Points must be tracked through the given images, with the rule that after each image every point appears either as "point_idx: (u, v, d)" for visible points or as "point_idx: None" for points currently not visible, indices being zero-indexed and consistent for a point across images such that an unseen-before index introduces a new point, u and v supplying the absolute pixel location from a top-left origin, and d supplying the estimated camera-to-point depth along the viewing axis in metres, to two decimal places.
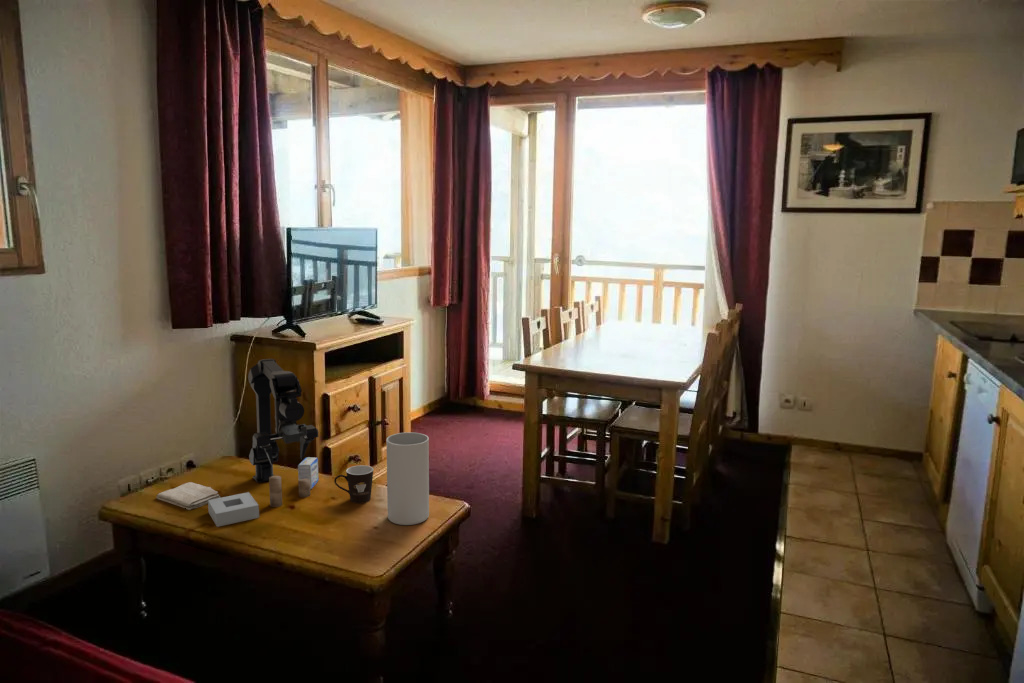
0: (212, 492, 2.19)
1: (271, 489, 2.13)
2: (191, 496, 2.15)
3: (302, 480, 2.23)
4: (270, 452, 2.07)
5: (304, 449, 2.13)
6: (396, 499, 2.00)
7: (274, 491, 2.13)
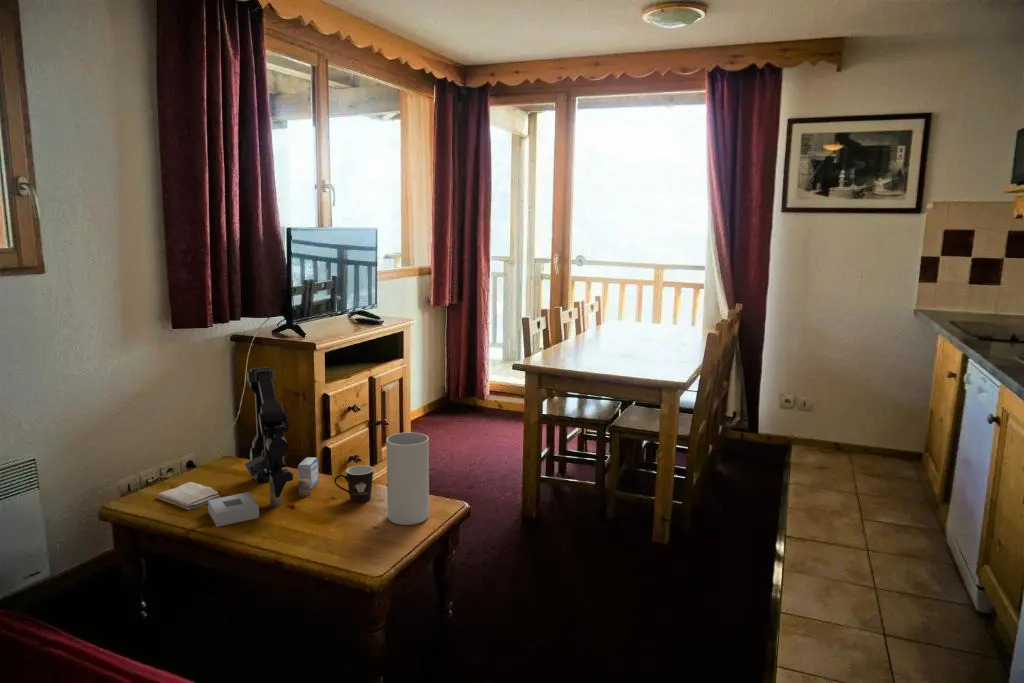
0: (212, 492, 2.19)
1: (271, 489, 2.13)
2: (191, 496, 2.15)
3: (302, 480, 2.23)
4: (268, 480, 2.15)
5: None
6: (396, 499, 2.00)
7: None
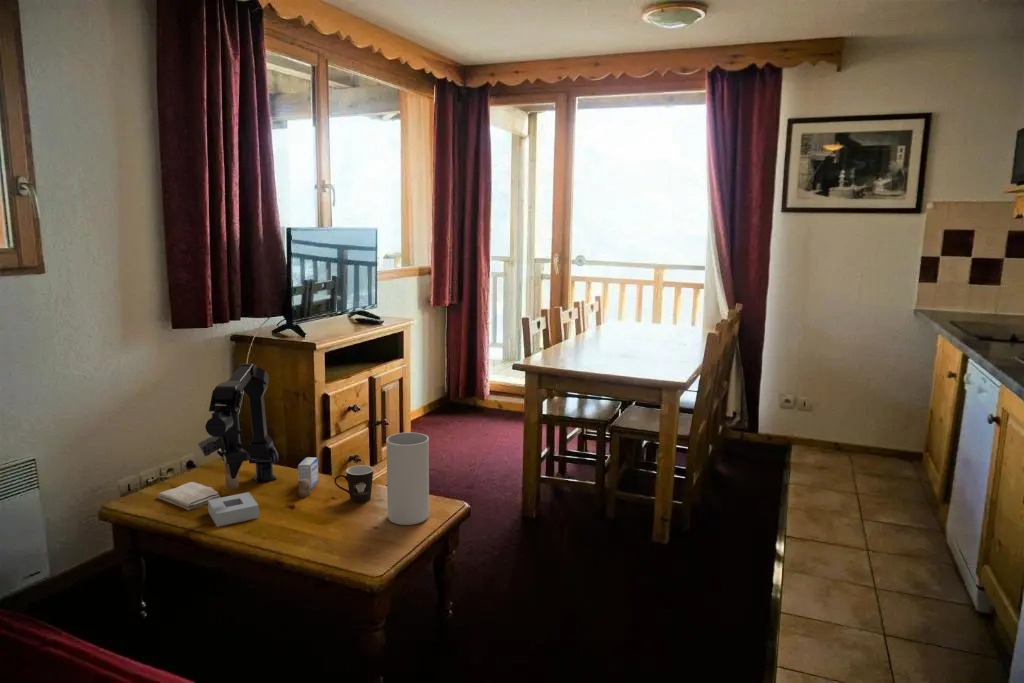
0: (212, 492, 2.19)
1: (226, 470, 2.03)
2: (191, 496, 2.15)
3: (302, 480, 2.23)
4: None
5: (229, 468, 2.02)
6: (396, 499, 2.00)
7: None
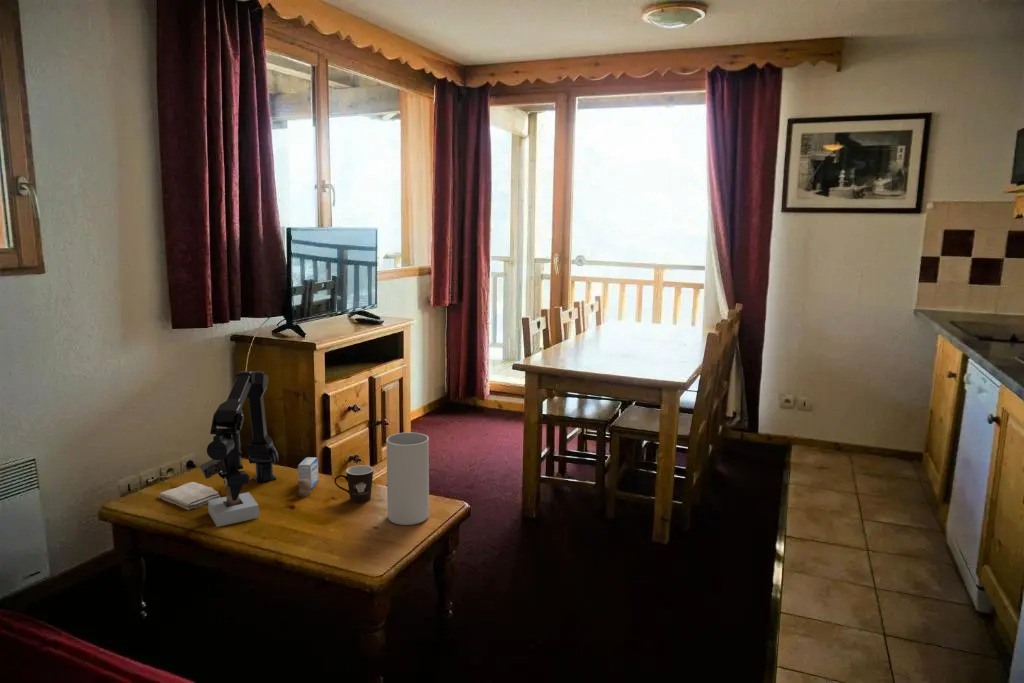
0: (212, 492, 2.19)
1: (227, 492, 2.04)
2: (191, 496, 2.15)
3: (302, 480, 2.23)
4: None
5: (230, 490, 2.03)
6: (396, 499, 2.00)
7: None
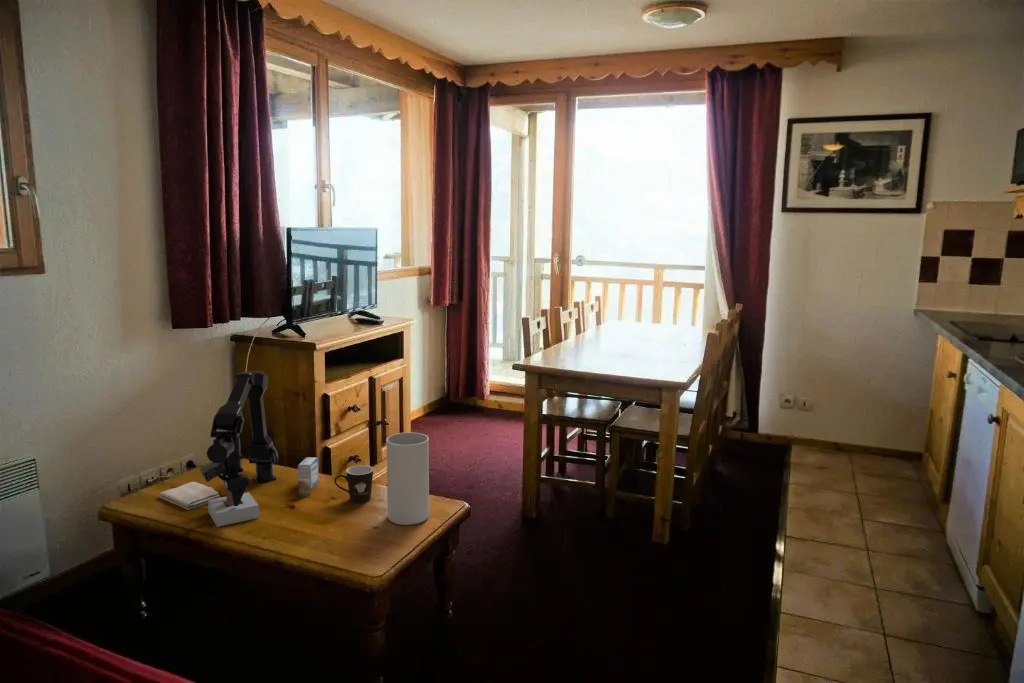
0: (213, 492, 2.19)
1: (228, 499, 2.04)
2: (191, 496, 2.15)
3: (302, 480, 2.23)
4: (224, 483, 2.09)
5: (232, 496, 2.01)
6: (396, 499, 2.00)
7: (231, 501, 2.04)
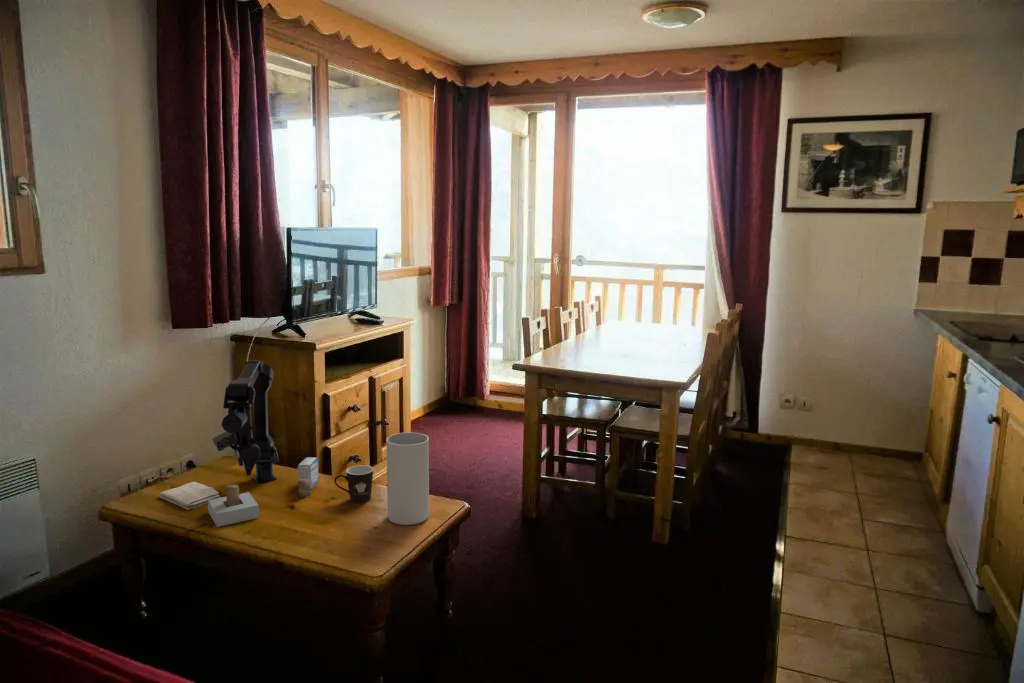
0: (213, 492, 2.19)
1: (228, 499, 2.04)
2: (191, 496, 2.15)
3: (302, 480, 2.23)
4: (235, 452, 2.14)
5: (244, 466, 2.06)
6: (396, 499, 2.00)
7: (231, 501, 2.04)
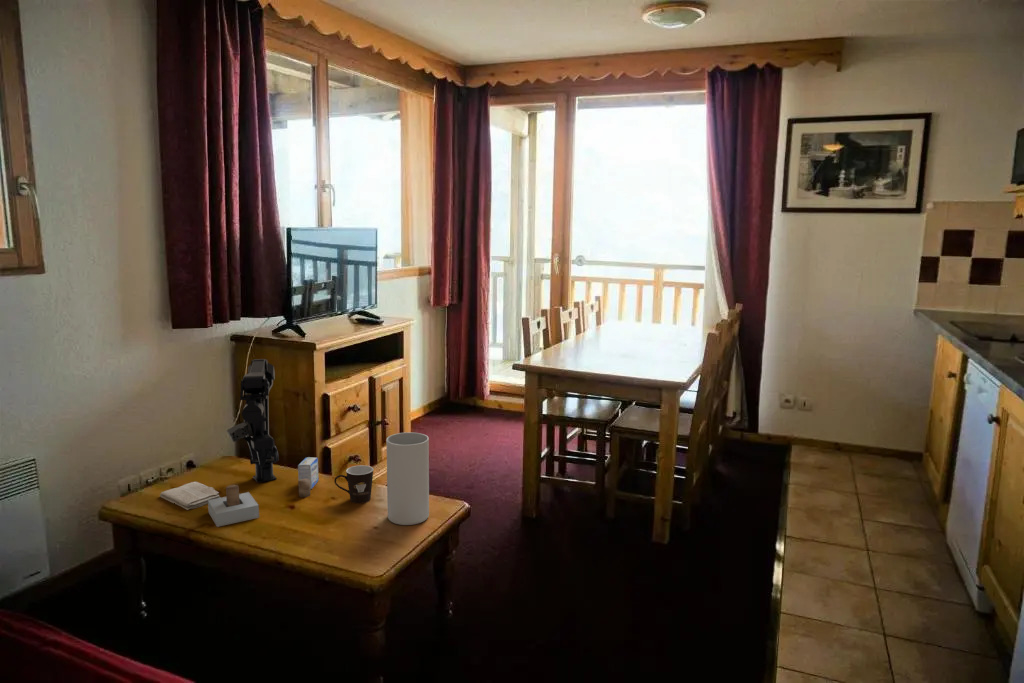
0: (213, 492, 2.19)
1: (228, 499, 2.04)
2: (192, 496, 2.15)
3: (302, 480, 2.23)
4: (248, 444, 2.21)
5: (257, 456, 2.12)
6: (396, 499, 2.00)
7: (231, 501, 2.04)
